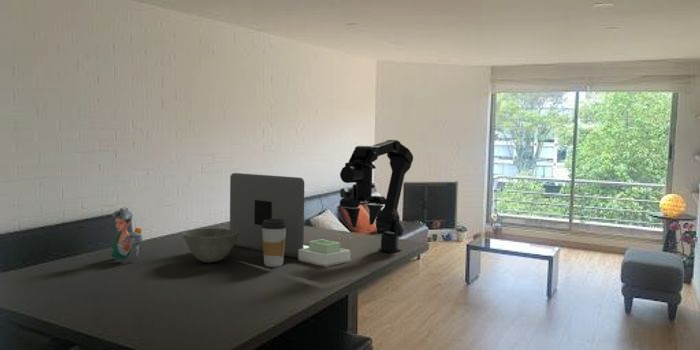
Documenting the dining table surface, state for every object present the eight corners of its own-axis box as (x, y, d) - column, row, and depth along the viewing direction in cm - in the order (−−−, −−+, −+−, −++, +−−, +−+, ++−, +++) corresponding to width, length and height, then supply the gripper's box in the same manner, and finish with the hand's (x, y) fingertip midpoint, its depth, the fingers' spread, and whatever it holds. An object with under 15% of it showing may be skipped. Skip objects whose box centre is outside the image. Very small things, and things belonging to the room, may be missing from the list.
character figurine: (99, 259, 183) (99, 207, 182) (116, 255, 191) (116, 204, 190) (128, 262, 180) (128, 209, 179) (144, 258, 188) (144, 206, 187)
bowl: (249, 261, 186) (250, 232, 186) (201, 269, 173) (202, 238, 172) (219, 253, 199) (219, 226, 198) (172, 260, 185) (172, 231, 185)
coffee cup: (281, 268, 177) (282, 222, 176) (257, 266, 178) (257, 221, 178) (289, 263, 185) (289, 219, 184) (266, 261, 187) (266, 218, 186)
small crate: (321, 255, 195) (322, 239, 195) (339, 259, 189) (340, 242, 189) (308, 258, 190) (308, 241, 190) (326, 262, 184) (327, 245, 184)
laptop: (349, 248, 214) (351, 175, 212) (300, 260, 190) (302, 178, 188) (279, 237, 236) (280, 170, 234) (227, 247, 212) (228, 172, 210)
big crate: (322, 255, 198) (323, 244, 198) (350, 261, 189) (350, 250, 189) (298, 260, 189) (298, 249, 189) (325, 267, 180) (326, 255, 180)
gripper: (364, 179, 201) (363, 221, 202) (328, 181, 188) (327, 225, 189) (387, 181, 194) (386, 224, 195) (352, 183, 180) (351, 229, 181)
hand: (362, 225), depth 190 cm, fingers open, 9 cm apart
